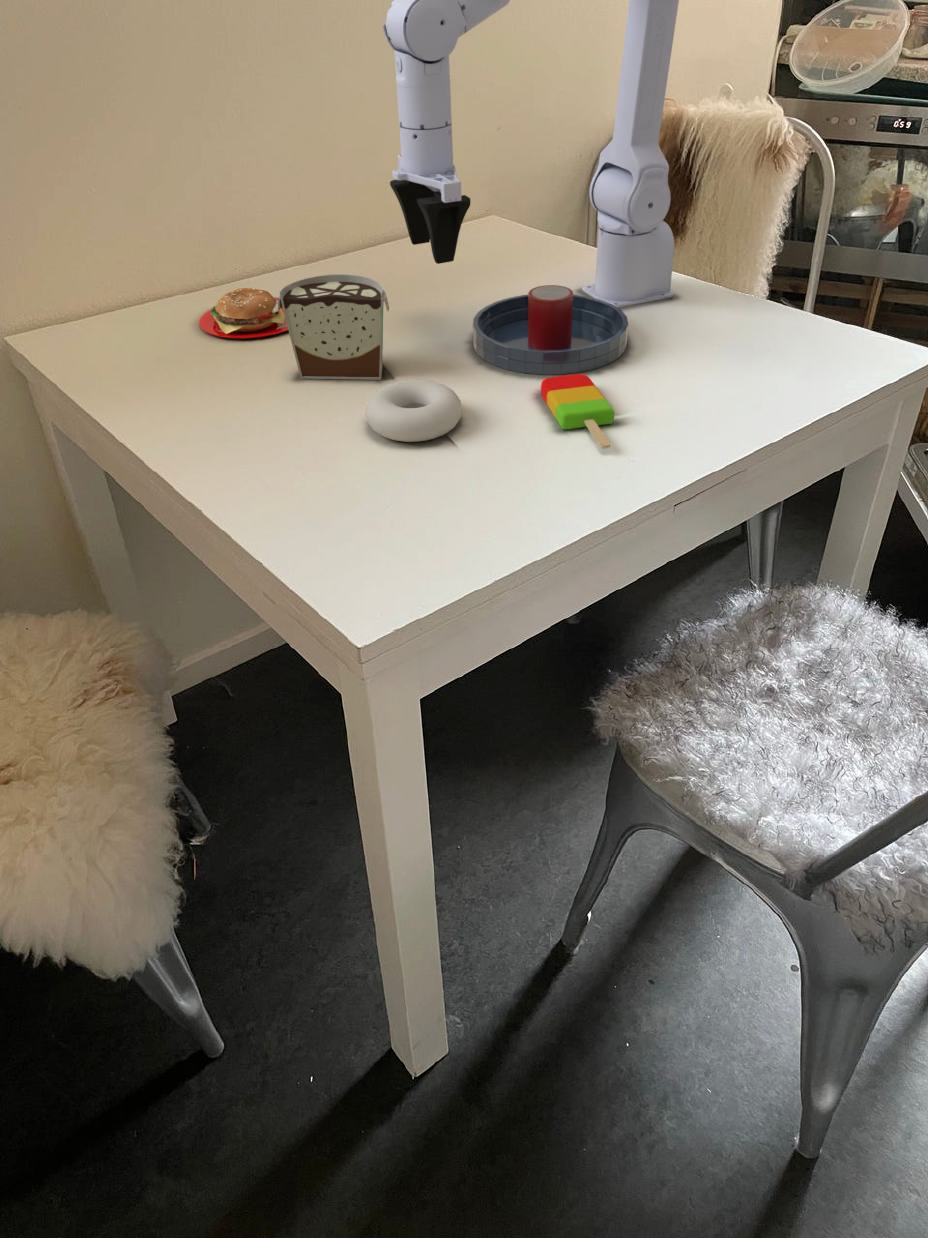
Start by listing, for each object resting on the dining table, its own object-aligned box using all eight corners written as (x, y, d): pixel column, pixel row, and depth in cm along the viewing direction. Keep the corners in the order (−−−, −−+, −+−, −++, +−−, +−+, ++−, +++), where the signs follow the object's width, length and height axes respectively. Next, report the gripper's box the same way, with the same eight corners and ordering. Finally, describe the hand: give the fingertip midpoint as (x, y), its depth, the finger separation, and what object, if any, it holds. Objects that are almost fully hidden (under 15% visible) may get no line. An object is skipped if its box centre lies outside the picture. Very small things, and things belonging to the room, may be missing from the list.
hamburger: (323, 326, 122) (317, 279, 118) (215, 349, 117) (205, 300, 113) (289, 292, 132) (282, 248, 128) (188, 312, 127) (178, 266, 123)
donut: (416, 396, 106) (346, 426, 100) (414, 366, 103) (343, 395, 98) (482, 423, 100) (412, 457, 94) (482, 392, 98) (410, 425, 92)
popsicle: (586, 387, 106) (586, 370, 105) (632, 451, 94) (634, 434, 93) (537, 393, 105) (537, 376, 104) (578, 459, 93) (579, 441, 92)
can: (558, 331, 118) (560, 281, 114) (579, 346, 114) (581, 295, 110) (520, 338, 116) (520, 289, 112) (539, 354, 112) (541, 303, 109)
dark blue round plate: (579, 306, 124) (580, 283, 123) (655, 358, 111) (658, 333, 109) (450, 332, 119) (449, 308, 117) (514, 389, 106) (514, 363, 104)
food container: (402, 357, 114) (396, 272, 107) (394, 379, 109) (387, 292, 103) (300, 356, 115) (288, 272, 108) (288, 378, 110) (274, 291, 104)
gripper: (369, 115, 108) (379, 239, 116) (414, 141, 97) (422, 276, 106) (427, 108, 110) (433, 231, 118) (478, 133, 99) (480, 266, 108)
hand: (432, 251), depth 112 cm, fingers open, 7 cm apart
